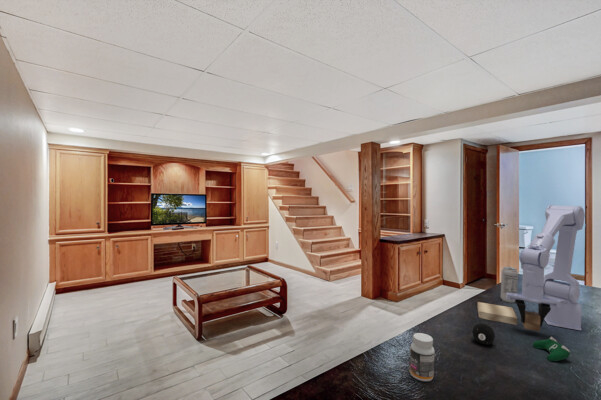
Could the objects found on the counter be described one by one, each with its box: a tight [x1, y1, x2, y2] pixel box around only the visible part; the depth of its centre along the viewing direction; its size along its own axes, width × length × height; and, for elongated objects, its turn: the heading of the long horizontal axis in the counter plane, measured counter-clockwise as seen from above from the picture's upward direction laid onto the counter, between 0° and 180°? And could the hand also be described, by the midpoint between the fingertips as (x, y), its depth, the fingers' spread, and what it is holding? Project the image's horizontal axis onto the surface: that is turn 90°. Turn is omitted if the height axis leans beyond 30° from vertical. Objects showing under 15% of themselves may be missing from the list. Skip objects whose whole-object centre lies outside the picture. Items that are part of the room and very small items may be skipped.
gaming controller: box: [532, 336, 571, 362], centre depth 88 cm, size 9×4×6 cm
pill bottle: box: [409, 332, 436, 382], centre depth 76 cm, size 6×6×10 cm
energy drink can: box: [500, 266, 519, 304], centre depth 135 cm, size 6×6×15 cm
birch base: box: [476, 301, 518, 326], centre depth 117 cm, size 12×12×3 cm
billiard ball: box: [471, 322, 496, 345], centre depth 94 cm, size 6×6×6 cm
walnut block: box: [522, 310, 541, 332], centre depth 102 cm, size 4×4×5 cm
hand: (531, 323), depth 102 cm, fingers closed on walnut block, 4 cm apart
